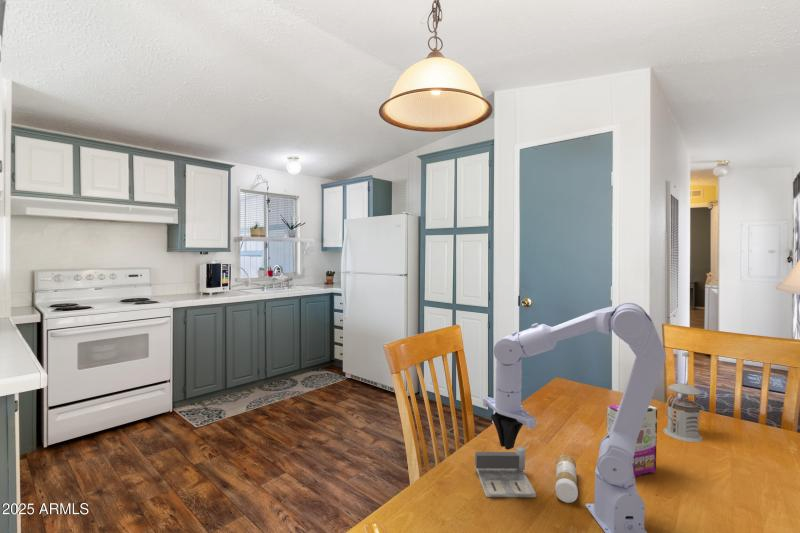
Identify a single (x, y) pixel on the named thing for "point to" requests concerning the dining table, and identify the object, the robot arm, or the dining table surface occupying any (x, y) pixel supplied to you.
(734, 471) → the dining table surface
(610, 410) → the candy bar box
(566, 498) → the sprinkles bottle
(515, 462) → the grey knobbed handle
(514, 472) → the chassis plate
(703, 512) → the dining table surface
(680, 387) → the french press
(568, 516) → the dining table surface
